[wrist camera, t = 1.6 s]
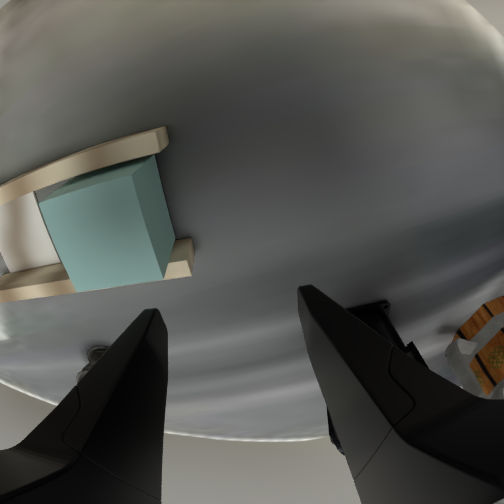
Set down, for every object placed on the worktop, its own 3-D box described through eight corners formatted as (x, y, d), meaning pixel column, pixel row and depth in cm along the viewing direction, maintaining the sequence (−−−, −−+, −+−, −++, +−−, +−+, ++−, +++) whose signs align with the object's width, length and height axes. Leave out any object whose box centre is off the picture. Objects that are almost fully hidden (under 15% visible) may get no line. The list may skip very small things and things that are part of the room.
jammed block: (154, 154, 17) (131, 174, 12) (175, 237, 20) (163, 279, 16) (75, 176, 17) (38, 203, 12) (101, 251, 20) (76, 292, 15)
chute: (165, 125, 16) (155, 131, 14) (194, 252, 21) (191, 275, 18) (-28, 200, 16) (-48, 214, 13) (8, 284, 21) (-6, 303, 18)
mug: (518, 299, 30) (568, 360, 17) (473, 360, 37) (510, 423, 24) (461, 284, 26) (536, 380, 13) (402, 366, 32) (446, 459, 19)
